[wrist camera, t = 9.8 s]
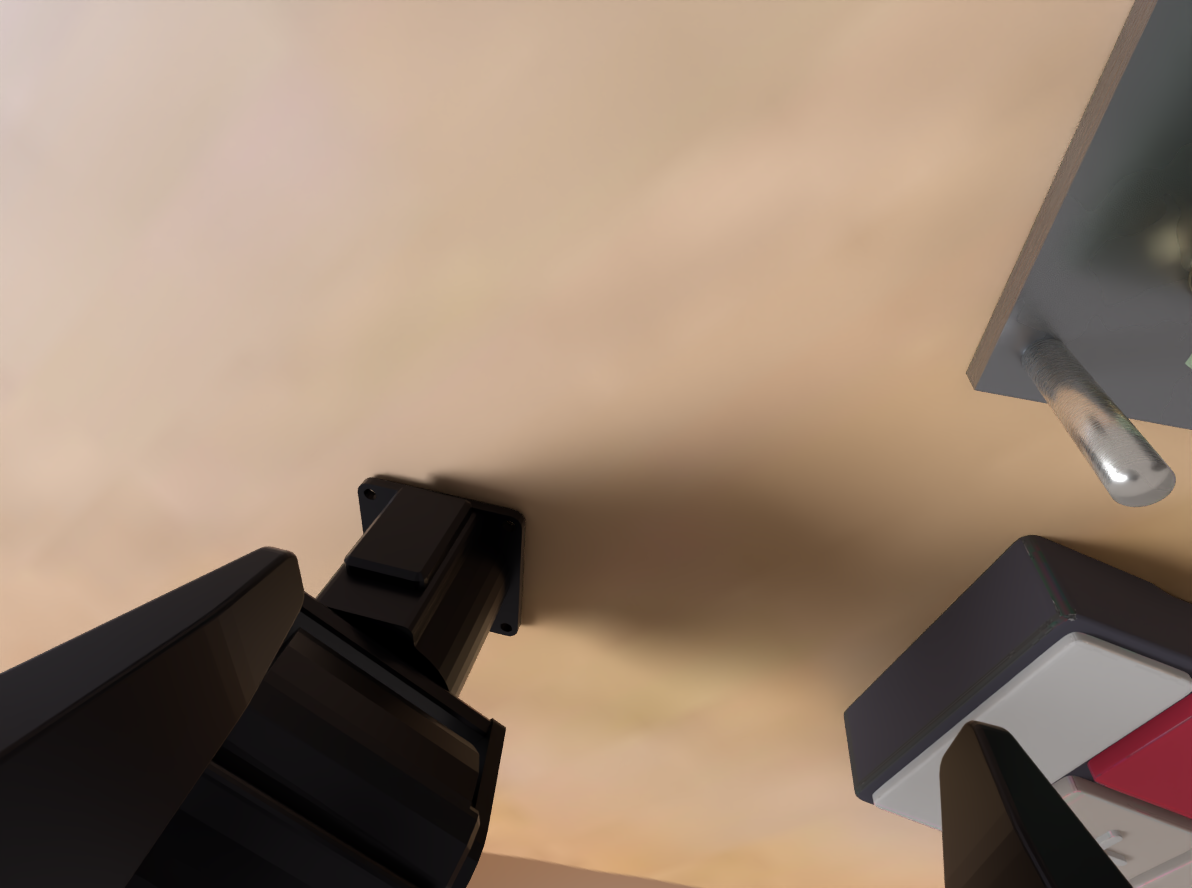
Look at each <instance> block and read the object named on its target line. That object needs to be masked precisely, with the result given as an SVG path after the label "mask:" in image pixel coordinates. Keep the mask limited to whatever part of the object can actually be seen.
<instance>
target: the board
mask: <svg viewBox="0 0 1192 888" xmlns="http://www.w3.org/2000/svg"><path fill="white" fill-rule="evenodd" d="M1185 364H1186V365H1187V366H1188V367H1190V368H1191V369H1192V354H1191V356H1190V357H1189V358H1188V360H1187V361H1186V363H1185Z"/></svg>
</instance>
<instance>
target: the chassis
mask: <svg viewBox="0 0 1192 888" xmlns="http://www.w3.org/2000/svg"><path fill="white" fill-rule="evenodd" d="M1191 354H1192V0H1135V2H1134V5H1133V7H1132V9H1131V11H1130V13H1129V16H1128V18H1127V20H1126V22H1125V24H1124V27H1123V29H1122V31H1121V33H1120V35H1119V38H1118V40H1117V42H1116V44H1115V46H1114V49H1113V51H1112V53H1111V55H1110V57H1109V60H1108V62H1107V64H1106V66H1105V68H1104V71H1103V73H1102V75H1101V77H1100V79H1099V82H1098V84H1097V86H1096V88H1095V90H1094V93H1093V95H1092V97H1091V99H1090V101H1089V104H1088V106H1087V108H1086V110H1085V112H1084V115H1083V117H1082V119H1081V121H1080V123H1079V126H1078V128H1077V130H1076V132H1075V134H1074V137H1073V139H1072V141H1071V143H1070V145H1069V148H1068V150H1067V152H1066V154H1065V156H1064V159H1063V161H1062V163H1061V165H1060V167H1059V170H1058V172H1057V174H1056V176H1055V178H1054V181H1053V183H1052V185H1051V187H1050V189H1049V192H1048V194H1047V196H1046V198H1045V200H1044V203H1043V205H1042V207H1041V209H1040V211H1039V214H1038V216H1037V218H1036V220H1035V222H1034V225H1033V227H1032V229H1031V231H1030V233H1029V236H1028V238H1027V240H1026V242H1025V244H1024V247H1023V249H1022V251H1021V253H1020V255H1019V258H1018V260H1017V262H1016V264H1015V266H1014V269H1013V271H1012V273H1011V275H1010V277H1009V280H1008V282H1007V284H1006V286H1005V288H1004V291H1003V293H1002V295H1001V297H1000V299H999V302H998V304H997V306H996V308H995V310H994V313H993V315H992V317H991V319H990V321H989V324H988V326H987V328H986V330H985V332H984V335H983V337H982V339H981V341H980V343H979V346H978V348H977V350H976V352H975V354H974V357H973V359H972V361H971V363H970V365H969V368H968V370H967V372H966V374H967V376H968V378H969V380H970V382H971V384H972V386H973V388H974V390H977V391H982V392H988V393H993V394H999V395H1004V396H1010V397H1015V398H1020V399H1026V400H1031V401H1037V402H1042V403H1048V404H1049V406H1050V407H1051V409H1052V410H1053V412H1054V413H1055V415H1056V416H1057V418H1058V419H1059V421H1060V422H1061V423H1062V425H1063V426H1064V428H1065V429H1066V431H1067V432H1068V434H1069V435H1070V437H1071V438H1072V440H1073V441H1074V442H1075V444H1076V445H1077V447H1078V448H1079V450H1080V451H1081V453H1082V454H1083V456H1084V457H1085V459H1086V460H1087V461H1088V463H1089V464H1090V466H1091V467H1092V469H1093V470H1094V472H1095V473H1096V475H1097V476H1098V478H1099V479H1100V481H1101V482H1102V483H1103V485H1104V486H1105V488H1106V489H1107V491H1108V492H1109V494H1110V495H1111V497H1112V498H1113V499H1114V500H1115V501H1116V502H1118V503H1119V504H1122V505H1125V506H1130V507H1142V506H1147V505H1151V504H1154V503H1156V502H1158V501H1160V500H1162V499H1164V498H1165V497H1166V496H1167V495H1169V494H1170V492H1171V491H1172V490H1173V488H1174V486H1175V483H1176V477H1175V474H1174V472H1173V471H1172V470H1171V468H1170V467H1169V466H1168V465H1167V464H1166V463H1165V461H1164V460H1163V459H1162V458H1161V457H1160V456H1159V454H1158V453H1157V452H1156V451H1155V450H1154V449H1153V447H1152V446H1151V445H1150V444H1149V443H1148V442H1147V440H1146V439H1145V438H1144V437H1143V436H1142V434H1141V433H1140V432H1139V431H1138V430H1137V429H1136V427H1135V426H1134V425H1133V424H1132V423H1131V422H1130V420H1129V419H1128V418H1130V419H1135V420H1141V421H1146V422H1152V423H1157V424H1163V425H1168V426H1174V427H1179V428H1185V429H1190V430H1192V369H1191V368H1190V367H1188V366H1187V365H1186V364H1185V363H1186V361H1187V360H1188V358H1189V357H1190V356H1191Z"/></svg>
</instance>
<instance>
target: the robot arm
mask: <svg viewBox="0 0 1192 888" xmlns="http://www.w3.org/2000/svg"><path fill="white" fill-rule="evenodd" d="M370 489H371V490H373V491H374V492H375V493H374V492H372V491H371V490H370ZM358 497H359V504H360V512H361V519H362V527H363V535H362V537H361V538H360V539H359V540H358V542H357V543H356V544H355V545H354V547H353V548H352V549H351V550H350V552H349V553H348V554H347V555H346V557H345V559H344V563H343V564H342V565H341V567H340V568H339V569H338V570H337V572H336V573H335V574H334V576H333V577H332V578H331V579H330V581H329V582H328V583H327V584H326V586H325V587H324V588H323V589H322V591H321V592H320V593H319V594H318V596H317V597H316V598H313V597H312V596H311V595H309V594H308V593H306V592H305V591H304V588H303V583H302V579H301V574H300V569H299V565H298V560H297V557H296V556H295V555H294V553H293V552H290V551H287V550H283V549H279V548H275V547H269V546H268V547H262V548H260V549H257V550H255V551H253V552H251V553H249V554H247V555H245V556H243V557H241V558H239V559H236V560H234V561H232V562H230V563H228V564H226V565H224V566H222V567H220V568H218V569H216V570H214V571H212V572H210V573H207V574H205V575H203V576H201V577H199V578H197V579H195V580H193V581H191V582H189V583H187V584H185V585H183V586H181V587H178V588H176V589H174V590H172V591H170V592H168V593H166V594H164V595H162V596H160V597H158V598H156V599H154V600H152V601H150V602H147V603H145V604H143V605H141V606H139V607H137V608H135V609H133V610H131V611H129V612H127V613H125V614H123V615H121V616H118V617H116V618H114V619H112V620H110V621H108V622H106V623H104V624H102V625H100V626H98V627H96V628H94V629H92V630H89V631H87V632H85V633H83V634H81V635H79V636H77V637H75V638H73V639H71V640H69V641H67V642H65V643H63V644H60V645H58V646H56V647H54V648H52V649H50V650H48V651H46V652H44V653H42V654H40V655H38V656H36V657H34V658H31V659H29V660H27V661H25V662H23V663H21V664H19V665H17V666H15V667H13V668H11V669H9V670H7V671H5V672H2V673H0V888H466V887H467V885H468V883H469V881H470V879H471V877H472V875H473V872H474V870H475V868H476V866H477V864H478V861H479V858H480V855H481V853H482V850H483V847H484V844H485V840H486V836H487V832H488V826H489V821H490V815H491V810H492V804H493V798H494V793H495V787H496V782H497V776H498V770H499V765H500V759H501V754H502V748H503V742H504V737H505V731H506V727H504V726H503V725H501V724H500V723H499V722H497V721H496V720H494V719H493V718H492V719H490V720H489V719H488V718H486V717H485V716H483V715H482V714H481V713H479V712H478V711H476V710H475V709H473V708H472V707H470V706H469V705H468V704H466V703H465V702H463V701H462V700H460V699H459V698H458V697H459V694H460V692H461V690H462V688H463V686H464V684H465V682H466V680H467V677H468V675H469V673H470V671H471V669H472V667H473V665H474V663H475V660H476V658H477V656H478V654H479V652H480V650H481V648H482V645H483V643H484V641H485V639H486V637H487V635H488V633H489V631H490V632H494V633H498V634H502V635H506V636H513V635H515V634H516V633H517V632H518V629H519V627H520V624H521V610H522V588H523V566H524V545H525V523H526V522H525V518H524V517H523V515H522V514H521V513H520V512H518V511H516V510H514V509H510V508H505V507H501V506H497V505H492V504H488V503H483V502H479V501H474V500H470V499H466V498H461V497H457V496H452V495H448V494H443V493H439V492H435V491H430V490H426V489H421V488H417V487H413V486H408V485H404V484H399V483H395V482H390V481H386V480H382V479H377V478H367V479H365V480H364V482H363V483H362V484H361V485H360V486H359V488H358ZM507 521H510V522H513V523H514V525H511V524H509V523H508V522H507ZM939 781H940V801H941V821H942V840H943V860H944V880H945V888H1133V886H1132V885H1131V884H1130V883H1129V881H1128V880H1127V879H1126V878H1125V876H1124V875H1123V874H1122V873H1121V871H1120V870H1119V869H1118V868H1117V866H1116V865H1115V864H1114V862H1113V861H1112V860H1111V859H1110V857H1109V856H1108V855H1107V854H1106V852H1105V851H1104V850H1103V849H1102V847H1101V846H1100V845H1099V844H1098V842H1097V841H1096V840H1095V839H1094V837H1093V836H1092V835H1091V833H1090V832H1089V831H1088V830H1087V828H1086V827H1085V826H1084V825H1083V823H1082V822H1081V821H1080V820H1079V818H1078V817H1077V816H1076V815H1075V813H1074V812H1073V811H1072V810H1071V808H1070V807H1069V806H1068V804H1067V803H1066V802H1065V801H1064V799H1063V798H1062V797H1061V796H1060V794H1059V793H1058V792H1057V791H1056V789H1055V788H1054V787H1053V786H1052V784H1051V783H1050V782H1049V781H1048V779H1047V778H1046V777H1045V775H1044V774H1043V773H1042V772H1041V770H1040V769H1039V768H1038V767H1037V765H1036V764H1035V763H1034V762H1033V760H1032V759H1031V758H1030V757H1029V755H1028V754H1027V753H1026V752H1025V750H1024V749H1023V748H1022V747H1021V745H1020V744H1019V743H1018V741H1017V740H1016V739H1015V738H1014V736H1013V735H1012V734H1011V733H1010V732H1008V731H1007V730H1006V729H1004V728H1002V727H1000V726H996V725H992V724H988V723H984V722H980V721H975V720H971V721H969V722H967V723H965V724H964V726H963V727H962V728H961V730H960V731H959V733H958V734H957V736H956V737H955V739H954V740H953V742H952V743H951V745H950V746H949V748H948V749H947V751H946V752H945V754H944V755H943V757H942V760H941V764H940V771H939Z"/></svg>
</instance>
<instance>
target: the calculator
mask: <svg viewBox="0 0 1192 888" xmlns="http://www.w3.org/2000/svg"><path fill="white" fill-rule="evenodd" d="M844 720H845V728H846V735H847V742H848V749H849V756H850V763H851V770H852V776H853V783H854V790H855V794H856V796H857V797H858V798H859V799H861V800H863V801H865V802H868V803H870V804H873V805H875V806H876V807H878V808H880V809H882V810H885V811H888V812H891V813H893V814H896V815H899V816H901V817H904V818H907V819H910V820H912V821H915V822H918V823H920V824H923V825H926V826H929V827H931V828H934V829H937V830H939V831H942V821H941V801H940V781H939V771H940V764H941V760H942V757H943V755H944V754H945V752H946V751H947V749H948V748H949V746H950V745H951V743H952V742H953V740H954V739H955V737H956V736H957V734H958V733H959V731H960V730H961V728H962V727H963V726H964V724H965V723H967V722H969V721H971V720H975V721H980V722H984V723H988V724H992V725H996V726H1000V727H1002V728H1004V729H1006V730H1007V731H1008V732H1010V733H1011V734H1012V735H1013V736H1014V738H1015V739H1016V740H1017V741H1018V743H1019V744H1020V745H1021V747H1022V748H1023V749H1024V750H1025V752H1026V753H1027V754H1028V755H1029V757H1030V758H1031V759H1032V760H1033V762H1034V763H1035V764H1036V765H1037V767H1038V768H1039V769H1040V770H1041V772H1042V773H1043V774H1044V775H1045V777H1046V778H1047V779H1048V781H1049V782H1050V783H1051V784H1052V786H1053V787H1054V788H1055V789H1056V791H1057V792H1058V793H1059V794H1060V796H1061V797H1062V798H1063V799H1064V801H1065V802H1066V803H1067V804H1068V806H1069V807H1070V808H1071V810H1072V811H1073V812H1074V813H1075V815H1076V816H1077V817H1078V818H1079V820H1080V821H1081V822H1082V823H1083V825H1084V826H1085V827H1086V828H1087V830H1088V831H1089V832H1090V833H1091V835H1092V836H1093V837H1094V839H1095V840H1096V841H1097V842H1098V844H1099V845H1100V846H1101V847H1102V849H1103V850H1104V851H1105V852H1106V854H1107V855H1108V856H1109V857H1110V859H1111V860H1112V861H1113V862H1114V864H1115V865H1116V866H1117V868H1118V869H1119V870H1120V871H1121V873H1122V874H1123V875H1124V876H1125V878H1126V879H1127V880H1128V881H1129V883H1130V884H1131V885H1132V886H1133V888H1192V604H1191V603H1188V602H1185V601H1183V600H1180V599H1178V598H1175V597H1173V596H1171V595H1169V594H1167V593H1166V592H1164V591H1163V590H1161V589H1160V588H1158V587H1157V586H1155V585H1154V584H1152V583H1150V582H1148V581H1146V580H1143V579H1141V578H1139V577H1136V576H1134V575H1131V574H1129V573H1127V572H1124V571H1122V570H1119V569H1117V568H1115V567H1112V566H1110V565H1108V564H1105V563H1103V562H1100V561H1098V560H1096V559H1093V558H1091V557H1088V556H1086V555H1084V554H1081V553H1079V552H1077V551H1074V550H1072V549H1069V548H1067V547H1065V546H1062V545H1060V544H1057V543H1055V542H1053V541H1050V540H1048V539H1045V538H1043V537H1040V536H1036V535H1028V536H1024V537H1021V538H1019V539H1018V540H1017V541H1015V542H1014V543H1013V544H1012V545H1011V546H1010V547H1009V548H1008V549H1007V550H1006V551H1005V552H1004V553H1003V554H1002V555H1001V556H1000V557H999V558H998V559H997V560H996V561H995V562H994V563H993V564H992V565H991V566H990V567H989V568H988V569H987V570H986V571H985V572H984V573H983V574H982V575H981V576H980V577H979V578H978V579H977V580H976V581H975V582H974V583H973V584H972V585H971V586H970V587H969V588H968V589H967V590H966V591H965V592H964V593H963V594H962V595H961V596H960V597H959V598H958V599H957V600H956V601H955V602H954V603H953V604H952V605H951V606H950V607H949V608H948V609H947V610H946V611H945V612H944V613H943V614H942V615H941V616H940V617H939V618H938V619H937V620H936V621H935V622H934V623H933V624H932V625H931V626H930V627H929V628H928V629H927V630H926V631H925V632H924V633H923V634H922V635H921V636H920V637H919V638H918V639H917V640H916V641H915V642H914V643H913V644H912V645H911V646H910V647H909V648H908V649H907V650H906V651H905V652H904V653H903V654H902V655H901V656H900V657H899V658H898V659H897V660H896V661H895V662H894V663H893V664H892V665H891V666H890V667H889V668H888V669H887V670H886V671H885V672H884V673H883V674H882V675H881V676H880V677H879V678H878V679H877V680H876V681H875V682H874V683H873V684H872V685H871V686H870V687H869V688H868V689H867V690H866V691H865V692H864V693H863V694H862V695H861V696H860V697H859V698H858V699H857V700H856V701H855V702H854V703H853V704H852V705H851V706H849V708H848V709H847V710H846V711H845V712H844Z"/></svg>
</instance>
